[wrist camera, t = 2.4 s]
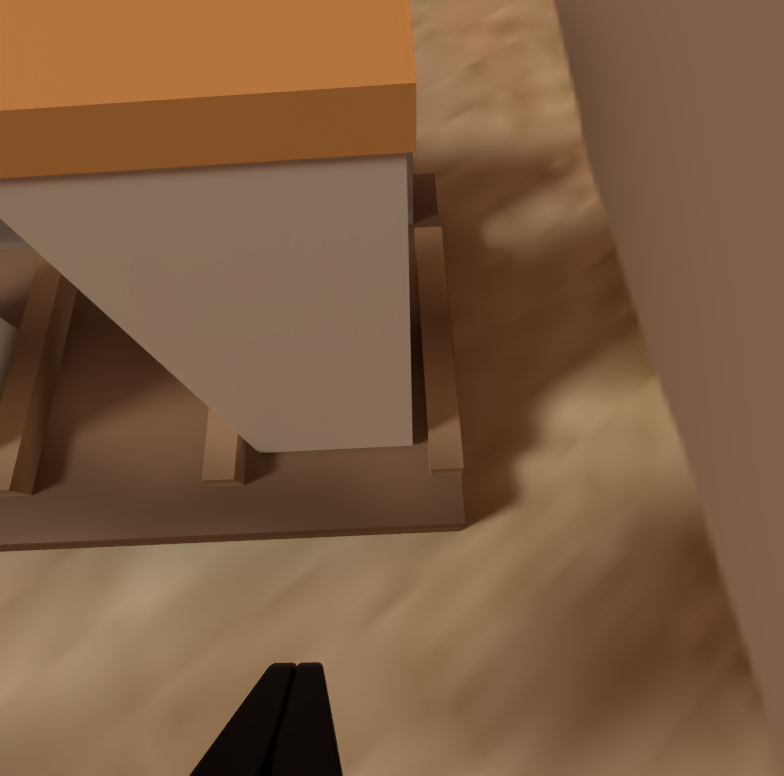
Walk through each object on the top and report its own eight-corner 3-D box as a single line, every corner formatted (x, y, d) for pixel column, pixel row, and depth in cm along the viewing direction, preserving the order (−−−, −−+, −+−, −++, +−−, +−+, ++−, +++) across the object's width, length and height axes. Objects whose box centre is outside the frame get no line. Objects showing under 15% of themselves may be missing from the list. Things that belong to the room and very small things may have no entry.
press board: (460, 530, 18) (489, 489, 11) (-160, 558, 18) (-514, 536, 11) (432, 207, 23) (440, 39, 16) (-50, 236, 24) (-244, 86, 17)
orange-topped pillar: (415, 448, 17) (415, 82, 5) (256, 456, 17) (-132, 119, 5) (407, 308, 19) (393, -199, 7) (264, 316, 19) (2, -168, 7)
